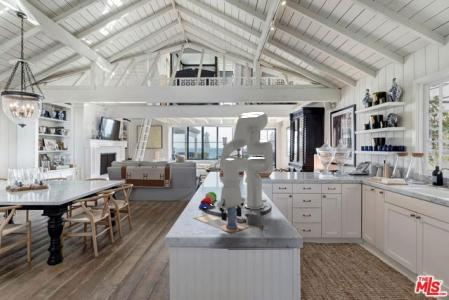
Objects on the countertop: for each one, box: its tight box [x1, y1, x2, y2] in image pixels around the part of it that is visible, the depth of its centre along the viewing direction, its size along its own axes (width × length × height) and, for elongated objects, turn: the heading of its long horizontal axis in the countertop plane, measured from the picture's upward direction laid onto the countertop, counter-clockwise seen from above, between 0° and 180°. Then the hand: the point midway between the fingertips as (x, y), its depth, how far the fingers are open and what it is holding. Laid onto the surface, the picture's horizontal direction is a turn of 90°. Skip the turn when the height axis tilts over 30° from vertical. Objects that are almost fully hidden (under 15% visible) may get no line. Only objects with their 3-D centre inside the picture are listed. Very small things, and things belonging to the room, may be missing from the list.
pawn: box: [226, 206, 238, 229], centre depth 134 cm, size 6×6×11 cm
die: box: [247, 211, 262, 225], centre depth 142 cm, size 5×5×5 cm
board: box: [192, 213, 250, 234], centre depth 142 cm, size 12×32×1 cm, turn 40°
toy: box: [198, 191, 218, 210], centre depth 176 cm, size 8×8×15 cm
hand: (231, 218), depth 134 cm, fingers open, 9 cm apart
